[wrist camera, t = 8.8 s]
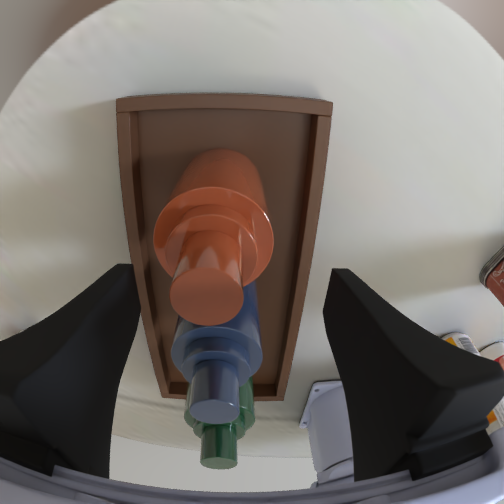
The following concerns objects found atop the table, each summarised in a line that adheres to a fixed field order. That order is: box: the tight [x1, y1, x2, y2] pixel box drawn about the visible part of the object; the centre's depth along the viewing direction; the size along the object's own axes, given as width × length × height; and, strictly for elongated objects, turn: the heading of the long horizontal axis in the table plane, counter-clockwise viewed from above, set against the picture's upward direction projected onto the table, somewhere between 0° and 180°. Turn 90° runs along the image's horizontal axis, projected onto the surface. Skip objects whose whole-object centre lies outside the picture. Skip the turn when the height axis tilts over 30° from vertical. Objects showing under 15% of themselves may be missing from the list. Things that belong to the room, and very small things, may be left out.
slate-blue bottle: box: [171, 279, 263, 424], centre depth 18 cm, size 5×5×10 cm
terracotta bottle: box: [153, 148, 274, 326], centre depth 15 cm, size 5×5×10 cm
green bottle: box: [184, 375, 255, 469], centre depth 22 cm, size 5×5×10 cm
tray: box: [116, 93, 333, 401], centre depth 22 cm, size 26×12×2 cm, turn 177°
